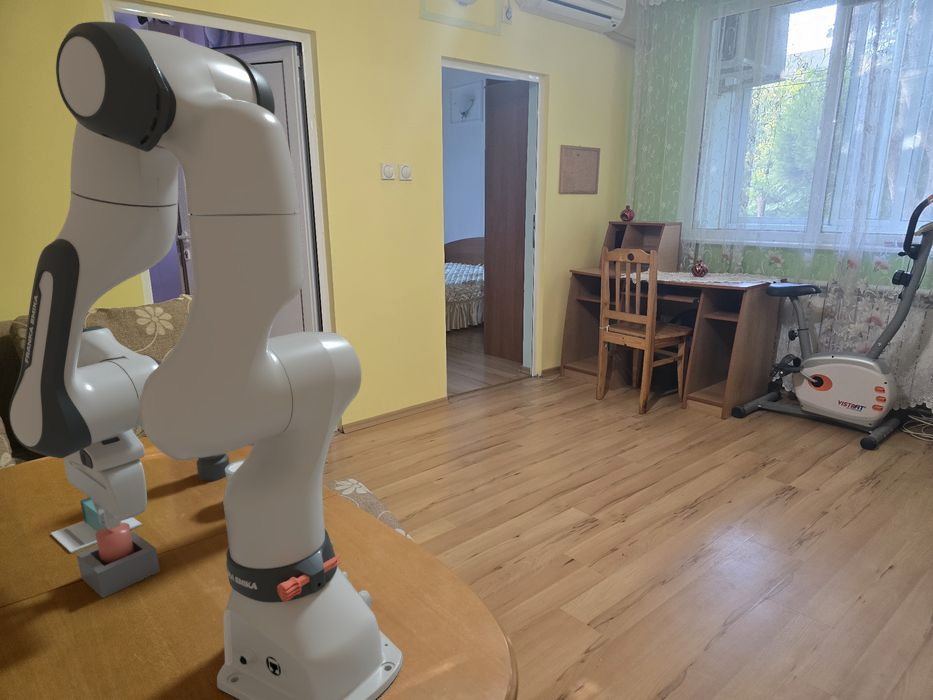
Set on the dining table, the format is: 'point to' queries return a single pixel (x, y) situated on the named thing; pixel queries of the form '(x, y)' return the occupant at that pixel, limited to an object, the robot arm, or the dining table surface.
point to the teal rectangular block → (90, 514)
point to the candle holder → (212, 467)
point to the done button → (114, 543)
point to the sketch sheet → (83, 535)
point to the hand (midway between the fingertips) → (110, 525)
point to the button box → (118, 567)
